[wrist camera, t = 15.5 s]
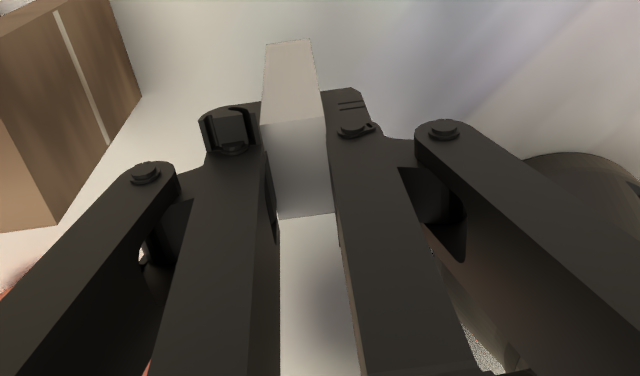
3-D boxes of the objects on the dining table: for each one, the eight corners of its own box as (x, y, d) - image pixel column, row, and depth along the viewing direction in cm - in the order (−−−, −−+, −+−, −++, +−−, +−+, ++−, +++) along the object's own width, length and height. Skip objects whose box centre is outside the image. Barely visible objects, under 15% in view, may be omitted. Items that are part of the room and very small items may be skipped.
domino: (142, 96, 27) (58, 225, 17) (105, 101, 27) (-1, 233, 17) (103, -18, 23) (-32, 54, 13) (61, -12, 23) (-104, 65, 13)
